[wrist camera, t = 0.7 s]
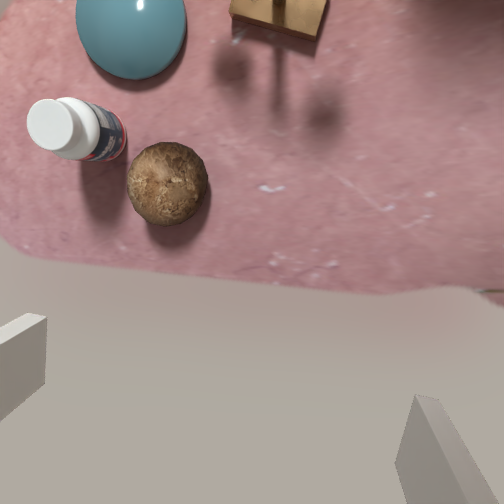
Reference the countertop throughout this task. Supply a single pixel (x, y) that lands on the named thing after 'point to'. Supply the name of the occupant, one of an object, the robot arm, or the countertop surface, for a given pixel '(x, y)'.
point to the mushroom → (167, 183)
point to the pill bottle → (76, 129)
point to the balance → (281, 15)
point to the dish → (131, 34)
